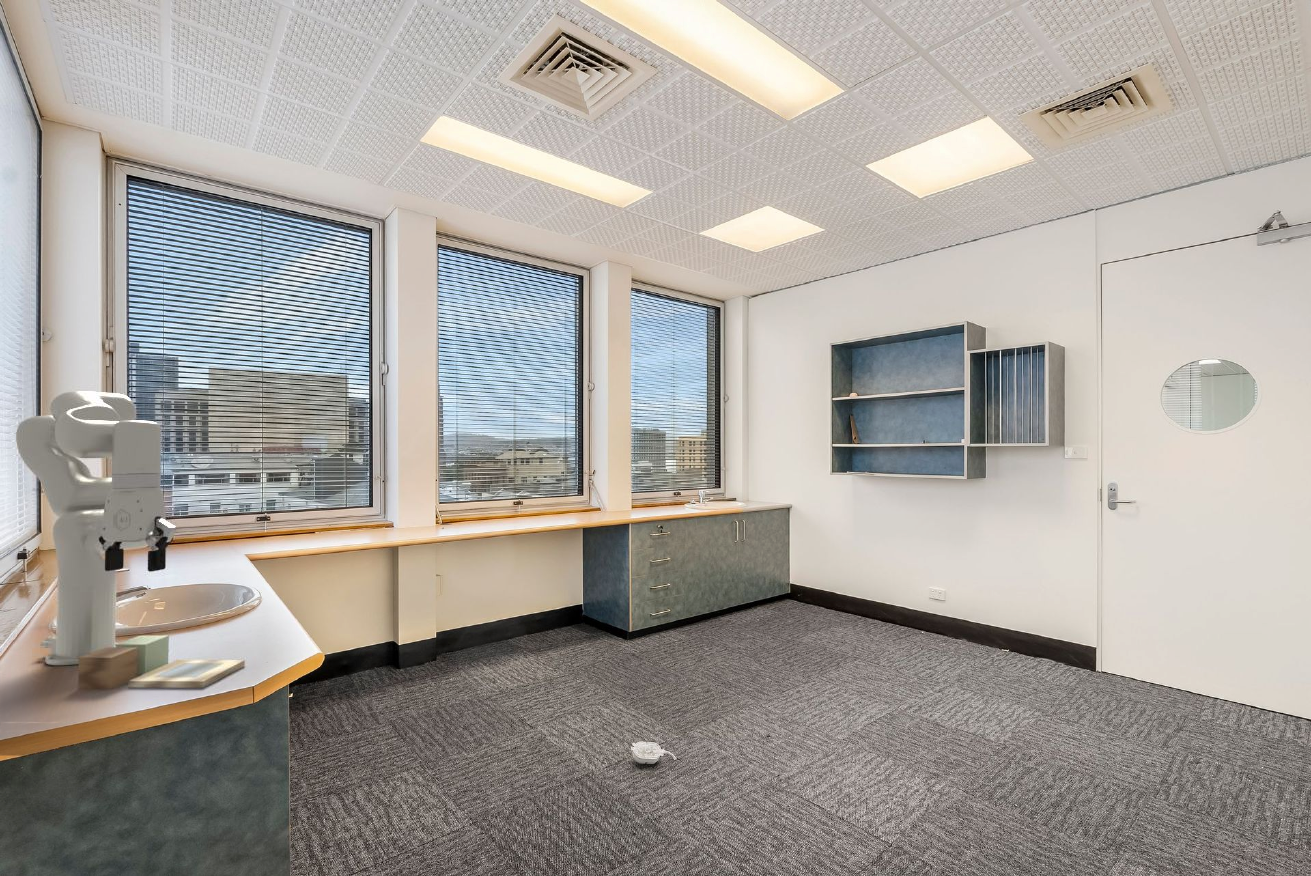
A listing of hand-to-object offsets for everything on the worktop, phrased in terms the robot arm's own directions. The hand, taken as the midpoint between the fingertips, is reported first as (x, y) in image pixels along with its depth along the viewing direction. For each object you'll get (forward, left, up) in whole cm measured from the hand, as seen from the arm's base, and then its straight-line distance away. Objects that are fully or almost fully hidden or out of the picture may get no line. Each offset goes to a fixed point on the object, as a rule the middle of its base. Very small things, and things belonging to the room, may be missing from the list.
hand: (135, 570), depth 124 cm
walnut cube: (-2, -3, -21) cm, 21 cm away
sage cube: (-2, +5, -21) cm, 22 cm away
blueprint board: (+11, +1, -21) cm, 23 cm away
